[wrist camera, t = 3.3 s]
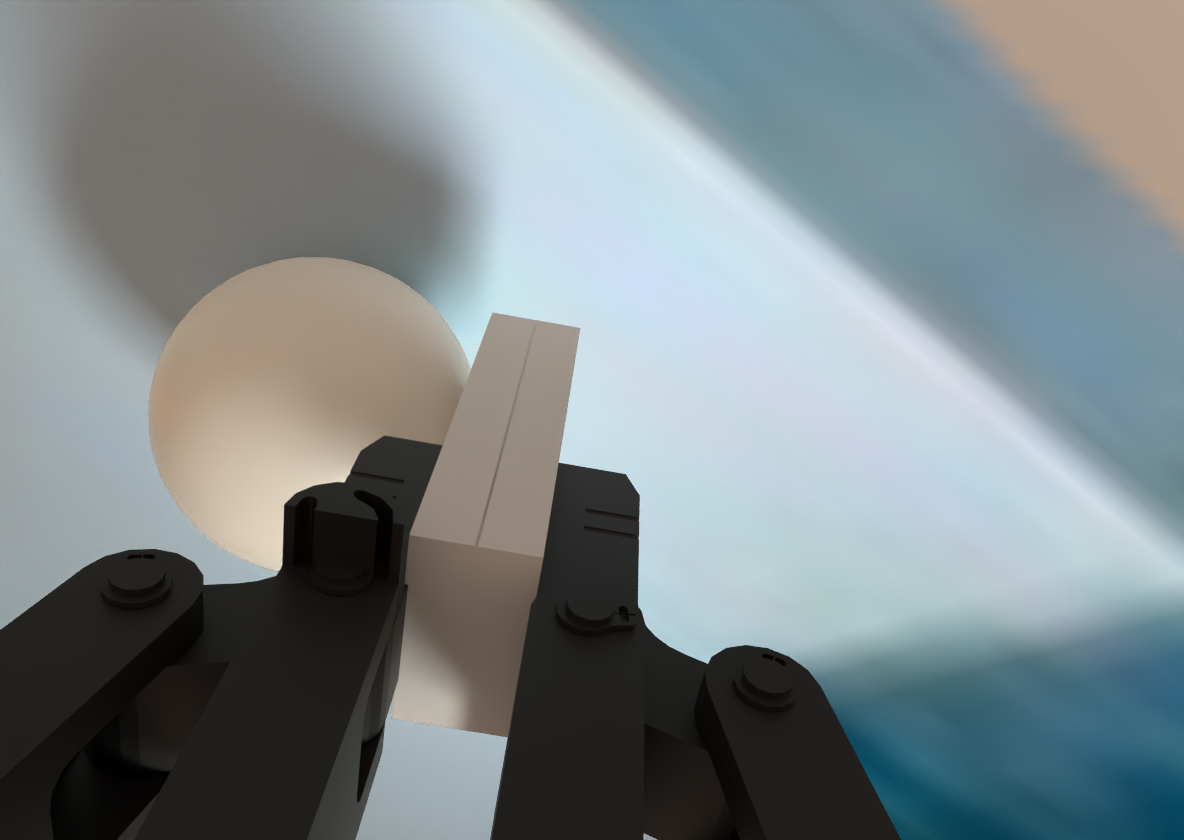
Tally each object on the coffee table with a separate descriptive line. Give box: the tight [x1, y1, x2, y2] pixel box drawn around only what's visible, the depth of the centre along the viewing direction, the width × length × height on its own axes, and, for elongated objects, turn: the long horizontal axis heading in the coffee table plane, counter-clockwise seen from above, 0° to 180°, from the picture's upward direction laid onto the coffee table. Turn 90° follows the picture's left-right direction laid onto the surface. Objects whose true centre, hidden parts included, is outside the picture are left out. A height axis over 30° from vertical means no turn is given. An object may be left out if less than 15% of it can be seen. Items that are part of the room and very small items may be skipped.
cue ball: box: [148, 257, 471, 571], centre depth 18 cm, size 6×6×6 cm
